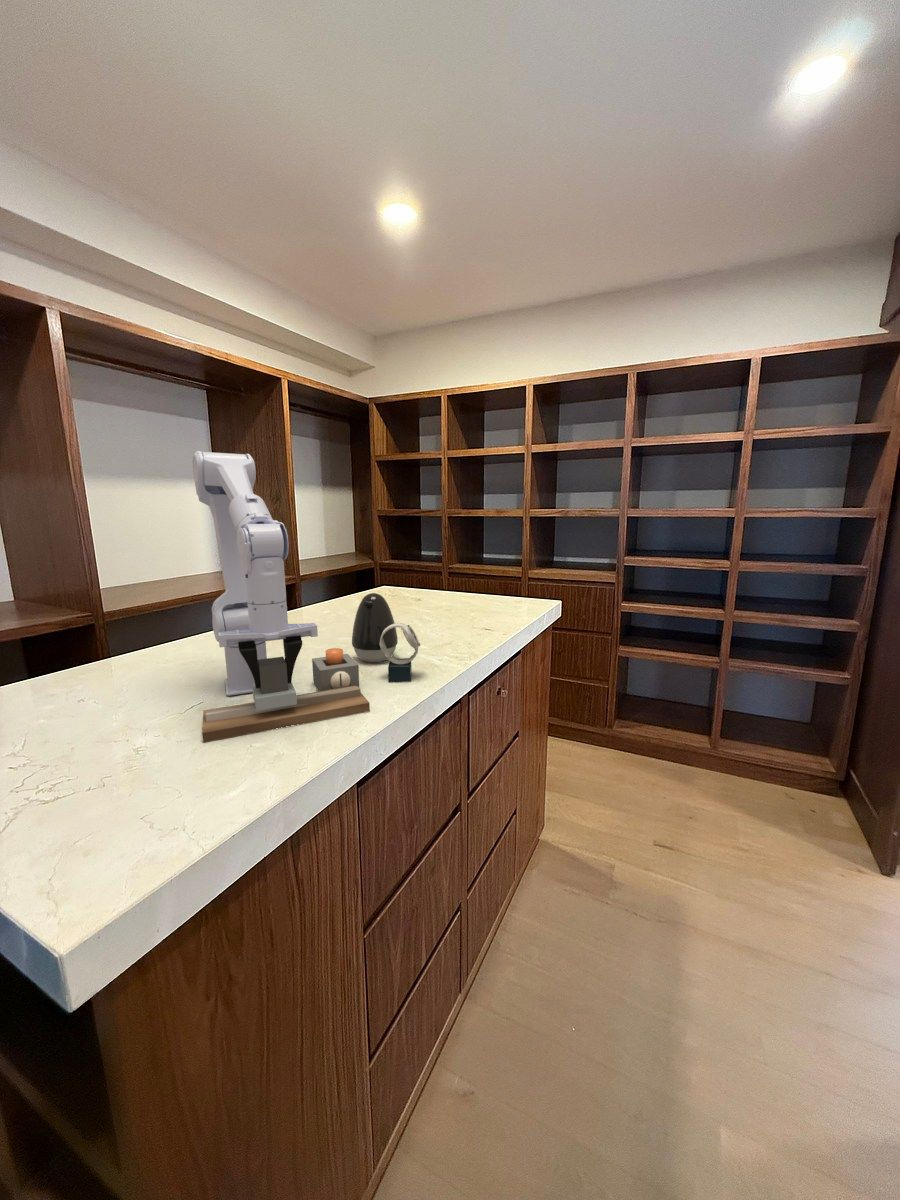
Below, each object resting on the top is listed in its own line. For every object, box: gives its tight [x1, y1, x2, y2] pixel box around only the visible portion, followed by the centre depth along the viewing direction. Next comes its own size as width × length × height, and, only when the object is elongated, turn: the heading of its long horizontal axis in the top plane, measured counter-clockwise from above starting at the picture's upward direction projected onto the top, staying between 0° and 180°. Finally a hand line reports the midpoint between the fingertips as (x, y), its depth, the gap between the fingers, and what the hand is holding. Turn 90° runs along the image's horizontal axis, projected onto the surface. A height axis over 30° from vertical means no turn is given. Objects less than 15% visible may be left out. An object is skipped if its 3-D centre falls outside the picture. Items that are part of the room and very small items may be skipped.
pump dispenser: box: [351, 592, 399, 663], centre depth 108 cm, size 10×10×15 cm
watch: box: [380, 622, 421, 683], centre depth 96 cm, size 6×8×11 cm
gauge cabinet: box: [311, 653, 360, 692], centre depth 91 cm, size 8×7×5 cm
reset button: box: [324, 647, 344, 665], centre depth 91 cm, size 3×3×2 cm
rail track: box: [201, 686, 371, 744], centre depth 79 cm, size 9×25×3 cm, turn 116°
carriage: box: [252, 656, 297, 711], centre depth 77 cm, size 7×6×6 cm
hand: (273, 684), depth 77 cm, fingers closed on carriage, 4 cm apart
